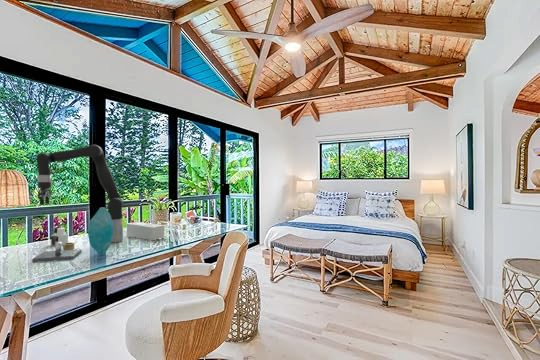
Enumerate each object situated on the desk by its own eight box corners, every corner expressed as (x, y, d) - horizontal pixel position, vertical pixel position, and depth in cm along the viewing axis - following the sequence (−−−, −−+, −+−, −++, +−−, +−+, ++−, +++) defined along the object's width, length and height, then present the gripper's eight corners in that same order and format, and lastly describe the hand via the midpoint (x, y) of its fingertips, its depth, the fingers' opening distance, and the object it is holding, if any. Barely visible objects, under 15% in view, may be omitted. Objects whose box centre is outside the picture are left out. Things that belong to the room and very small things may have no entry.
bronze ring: (75, 248, 193) (75, 242, 193) (72, 250, 187) (72, 244, 187) (65, 248, 191) (65, 242, 191) (61, 250, 185) (61, 244, 185)
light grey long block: (126, 236, 232) (126, 223, 232) (137, 234, 242) (137, 221, 241) (153, 241, 217) (153, 227, 217) (164, 238, 227) (164, 225, 227)
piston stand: (81, 252, 183) (81, 238, 183) (73, 259, 168) (73, 244, 168) (44, 254, 176) (44, 240, 176) (32, 262, 161) (32, 246, 161)
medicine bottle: (50, 244, 200) (51, 228, 200) (61, 242, 207) (61, 226, 207) (57, 245, 198) (58, 229, 198) (68, 243, 205) (68, 227, 205)
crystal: (90, 252, 182) (90, 206, 182) (114, 251, 187) (114, 206, 186) (85, 258, 171) (85, 209, 170) (111, 256, 176) (111, 208, 175)
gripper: (46, 181, 193) (46, 205, 194) (55, 181, 207) (54, 203, 207) (33, 181, 191) (33, 205, 191) (42, 181, 204) (42, 203, 205)
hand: (44, 204), depth 199 cm, fingers open, 8 cm apart
